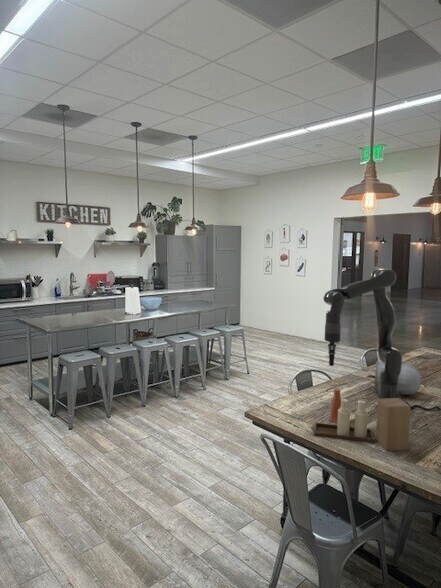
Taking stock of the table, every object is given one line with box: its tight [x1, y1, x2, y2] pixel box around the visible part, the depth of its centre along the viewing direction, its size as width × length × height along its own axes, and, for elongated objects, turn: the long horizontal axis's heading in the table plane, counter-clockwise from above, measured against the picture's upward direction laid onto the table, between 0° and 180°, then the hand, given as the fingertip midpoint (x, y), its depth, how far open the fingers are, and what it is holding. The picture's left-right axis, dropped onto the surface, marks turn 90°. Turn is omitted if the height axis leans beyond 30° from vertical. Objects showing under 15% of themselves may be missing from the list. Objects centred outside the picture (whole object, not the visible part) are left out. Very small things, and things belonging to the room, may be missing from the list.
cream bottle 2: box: [353, 400, 369, 438], centre depth 179 cm, size 5×5×16 cm
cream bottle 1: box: [336, 398, 351, 436], centre depth 181 cm, size 5×5×16 cm
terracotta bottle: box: [329, 388, 342, 424], centre depth 195 cm, size 5×5×16 cm
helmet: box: [365, 360, 422, 396], centre depth 234 cm, size 19×18×30 cm
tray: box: [313, 422, 375, 444], centre depth 182 cm, size 26×11×2 cm, turn 75°
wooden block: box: [375, 398, 412, 452], centre depth 171 cm, size 10×10×20 cm
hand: (331, 363), depth 197 cm, fingers open, 8 cm apart
